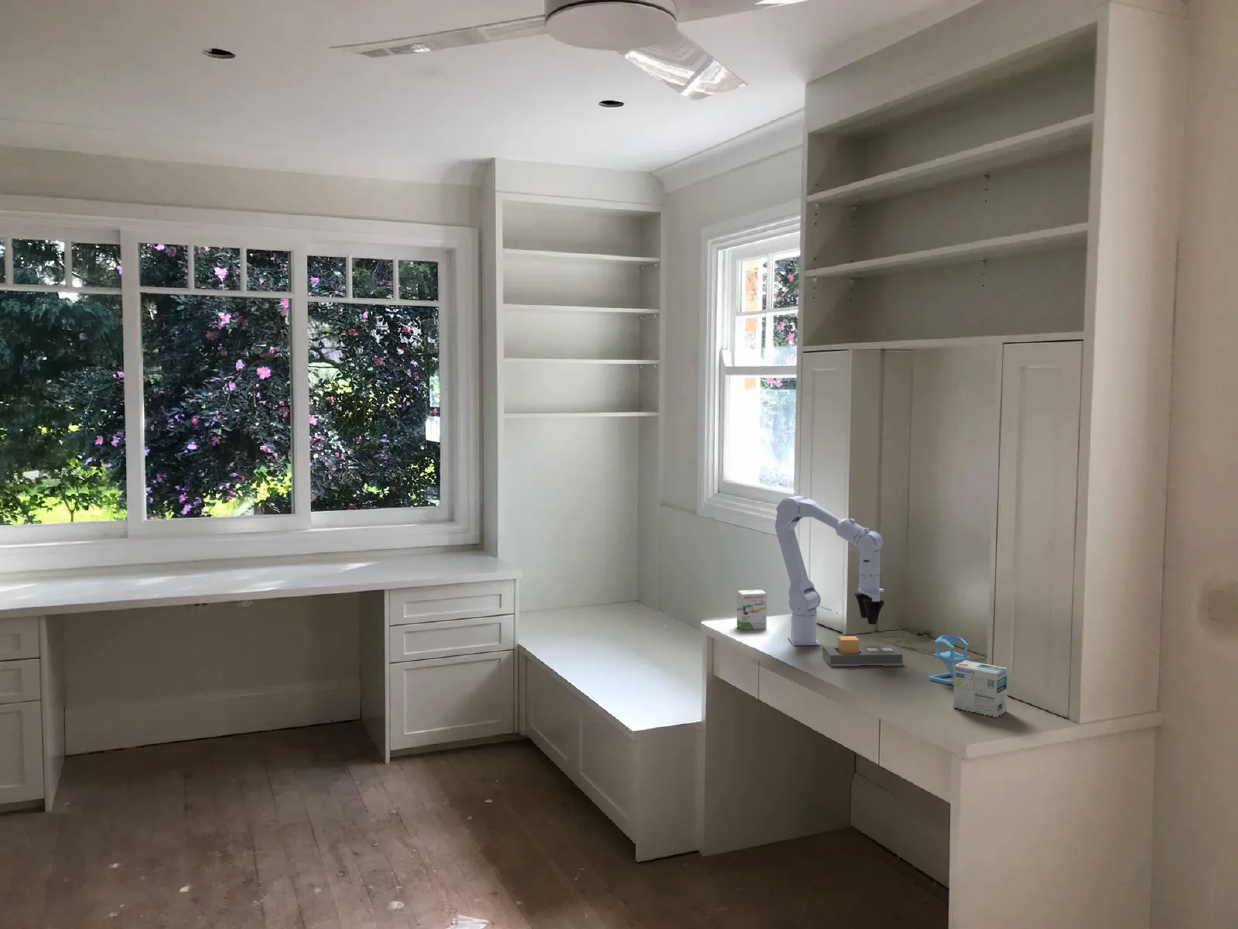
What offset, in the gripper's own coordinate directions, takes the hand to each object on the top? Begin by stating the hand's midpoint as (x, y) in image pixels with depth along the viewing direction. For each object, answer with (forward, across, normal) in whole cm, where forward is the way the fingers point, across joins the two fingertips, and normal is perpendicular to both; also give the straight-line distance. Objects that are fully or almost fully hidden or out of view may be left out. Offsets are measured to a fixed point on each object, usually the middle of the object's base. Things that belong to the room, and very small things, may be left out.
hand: (868, 620), depth 285 cm
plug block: (+9, -8, +8) cm, 14 cm away
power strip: (+9, -8, +4) cm, 13 cm away
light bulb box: (+10, -50, -13) cm, 53 cm away
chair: (+10, -28, -14) cm, 33 cm away
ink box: (+10, +30, +29) cm, 43 cm away
